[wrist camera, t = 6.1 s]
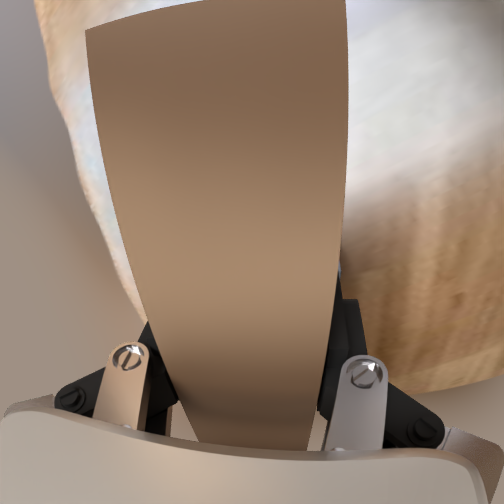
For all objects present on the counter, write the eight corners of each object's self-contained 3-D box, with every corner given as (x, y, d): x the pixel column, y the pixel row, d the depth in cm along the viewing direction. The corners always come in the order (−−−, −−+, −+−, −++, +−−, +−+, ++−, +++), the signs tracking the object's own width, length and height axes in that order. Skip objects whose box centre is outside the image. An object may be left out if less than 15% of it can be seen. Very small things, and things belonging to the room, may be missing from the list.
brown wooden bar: (181, 39, 8) (-4, 34, 2) (318, 31, 7) (379, -47, 2) (233, 403, 18) (212, 512, 12) (301, 407, 17) (295, 520, 11)
